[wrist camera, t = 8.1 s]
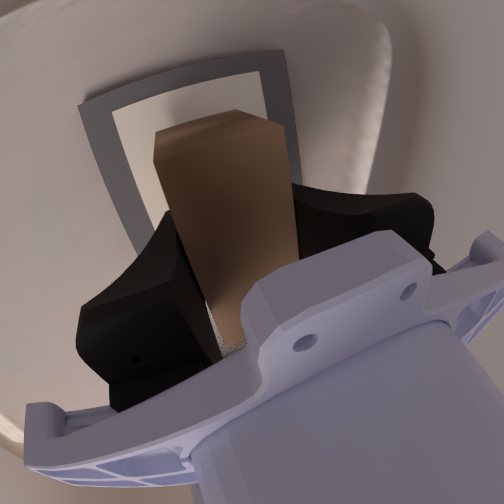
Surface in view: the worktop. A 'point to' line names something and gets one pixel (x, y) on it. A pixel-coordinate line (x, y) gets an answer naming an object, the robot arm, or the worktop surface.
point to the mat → (174, 113)
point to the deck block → (229, 205)
